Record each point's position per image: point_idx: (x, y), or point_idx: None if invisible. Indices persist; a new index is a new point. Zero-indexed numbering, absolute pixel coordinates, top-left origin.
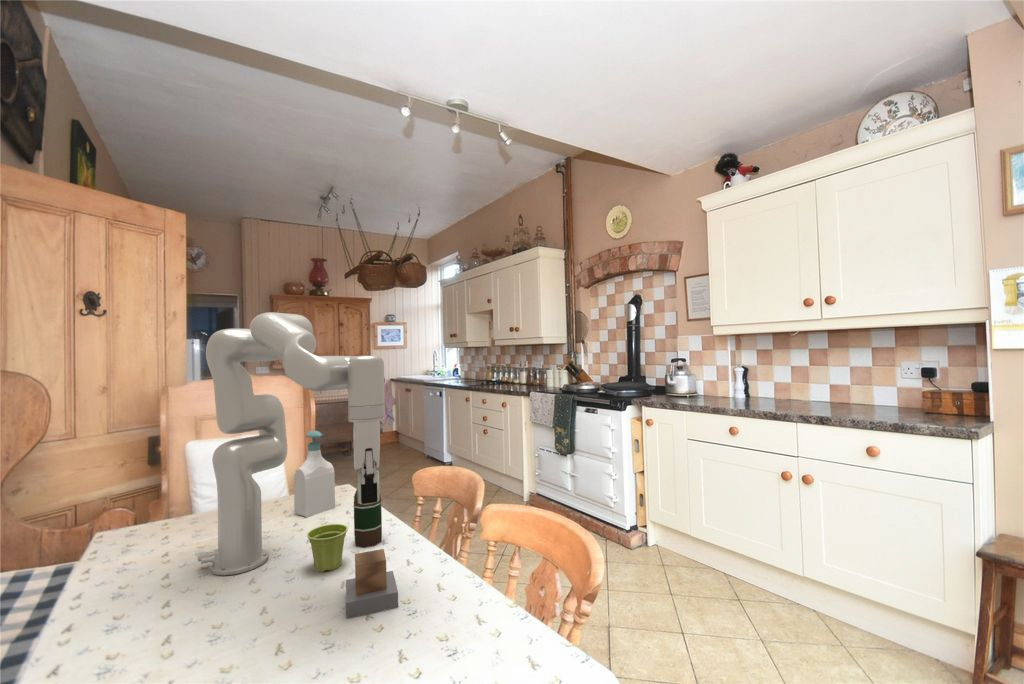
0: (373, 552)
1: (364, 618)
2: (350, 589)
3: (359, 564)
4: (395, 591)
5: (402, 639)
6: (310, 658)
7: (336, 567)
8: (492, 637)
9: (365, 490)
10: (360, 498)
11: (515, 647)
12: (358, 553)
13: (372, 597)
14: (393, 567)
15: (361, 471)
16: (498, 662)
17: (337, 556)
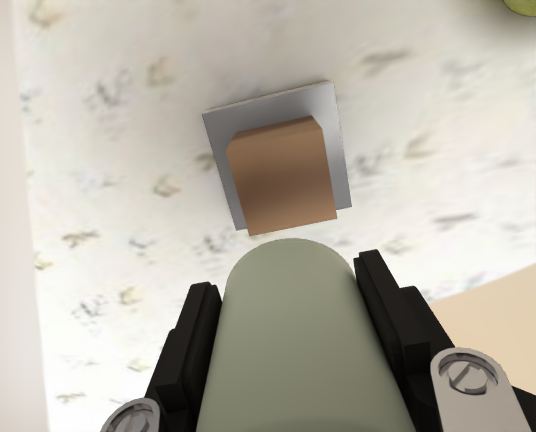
0: (316, 190)
1: (204, 151)
2: (271, 110)
3: (233, 161)
4: (239, 224)
5: (126, 234)
6: (68, 64)
7: (507, 5)
8: (126, 360)
9: (151, 378)
10: (233, 282)
11: (102, 383)
12: (322, 141)
13: (220, 176)
14: (439, 184)
15: (444, 428)
16: (69, 362)
17: (529, 5)
